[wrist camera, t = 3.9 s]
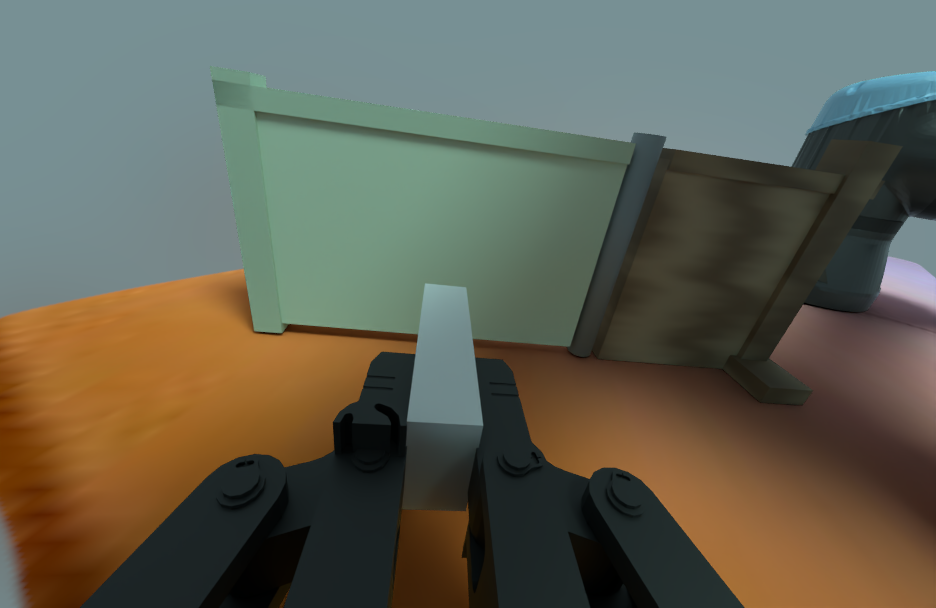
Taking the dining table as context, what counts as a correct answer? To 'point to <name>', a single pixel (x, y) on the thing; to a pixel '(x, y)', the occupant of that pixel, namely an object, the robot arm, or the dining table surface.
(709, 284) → the fence fixed
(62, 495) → the dining table surface
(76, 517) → the dining table surface
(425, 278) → the fence panel
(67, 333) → the dining table surface
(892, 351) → the dining table surface
